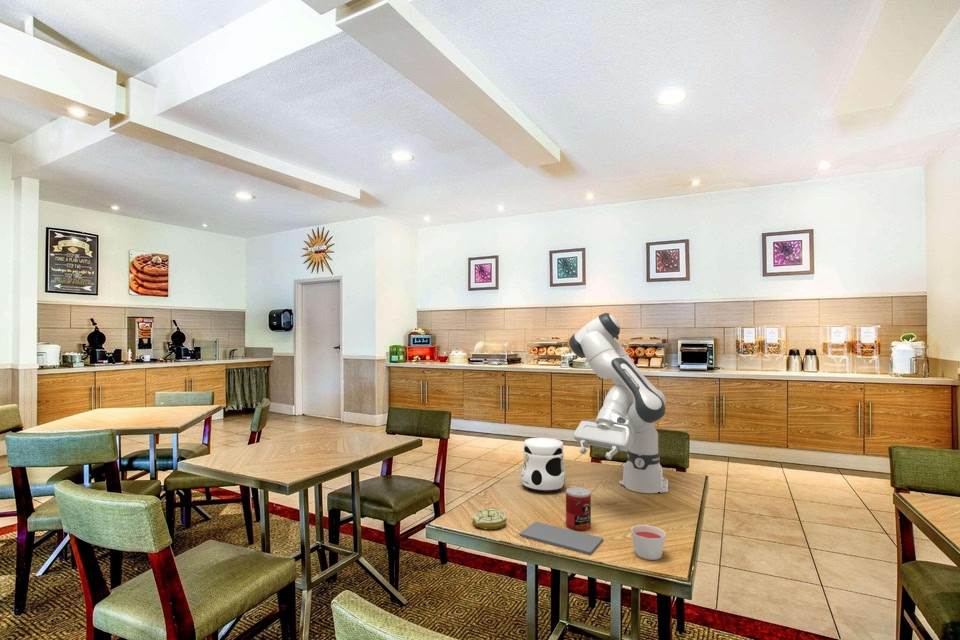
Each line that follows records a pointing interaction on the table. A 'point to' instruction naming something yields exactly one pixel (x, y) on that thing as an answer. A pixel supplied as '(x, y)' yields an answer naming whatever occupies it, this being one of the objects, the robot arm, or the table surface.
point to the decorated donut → (489, 519)
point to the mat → (562, 537)
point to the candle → (648, 541)
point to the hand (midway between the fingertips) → (594, 455)
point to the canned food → (578, 508)
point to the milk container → (543, 464)
